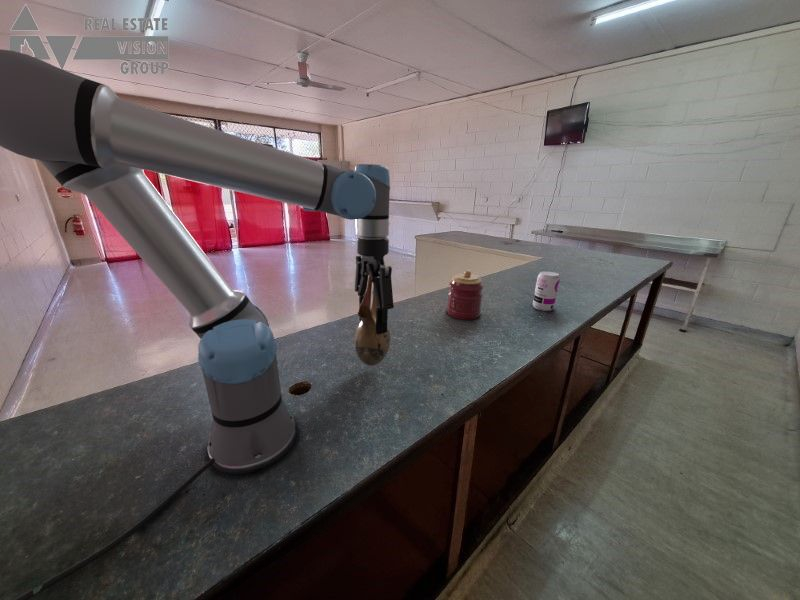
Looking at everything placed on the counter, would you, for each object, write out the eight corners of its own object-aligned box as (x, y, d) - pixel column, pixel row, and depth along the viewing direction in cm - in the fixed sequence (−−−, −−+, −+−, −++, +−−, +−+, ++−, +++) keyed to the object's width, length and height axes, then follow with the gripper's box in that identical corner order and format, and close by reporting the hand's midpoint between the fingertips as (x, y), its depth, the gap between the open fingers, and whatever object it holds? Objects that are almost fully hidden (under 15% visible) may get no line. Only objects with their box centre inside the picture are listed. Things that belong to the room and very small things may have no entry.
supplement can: (554, 306, 134) (561, 272, 129) (551, 313, 127) (559, 277, 122) (534, 302, 138) (540, 269, 133) (530, 308, 132) (536, 273, 126)
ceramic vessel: (381, 380, 76) (383, 281, 67) (346, 375, 78) (342, 278, 69) (395, 348, 91) (397, 263, 82) (365, 344, 93) (364, 261, 84)
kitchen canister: (487, 315, 123) (492, 272, 117) (463, 323, 116) (468, 277, 110) (463, 305, 133) (467, 264, 127) (439, 311, 126) (443, 268, 120)
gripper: (412, 243, 66) (408, 339, 74) (366, 230, 83) (367, 309, 91) (381, 246, 63) (380, 347, 71) (339, 231, 79) (342, 314, 87)
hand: (372, 325), depth 81 cm, fingers closed on ceramic vessel, 8 cm apart
